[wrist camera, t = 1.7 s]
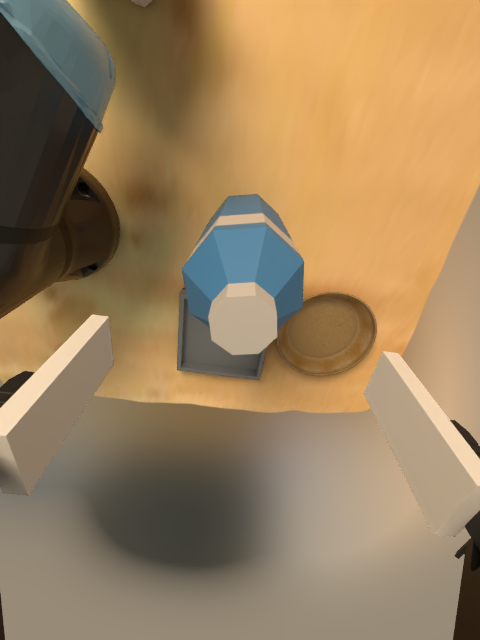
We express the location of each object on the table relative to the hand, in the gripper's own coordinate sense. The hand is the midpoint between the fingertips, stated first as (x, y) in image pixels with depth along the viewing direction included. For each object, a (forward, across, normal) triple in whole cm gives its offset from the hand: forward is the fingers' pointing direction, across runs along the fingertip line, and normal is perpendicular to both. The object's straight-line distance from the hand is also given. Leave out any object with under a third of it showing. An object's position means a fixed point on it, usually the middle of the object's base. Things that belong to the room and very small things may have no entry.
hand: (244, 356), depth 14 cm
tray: (+28, -1, -16) cm, 32 cm away
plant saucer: (+28, +14, -13) cm, 34 cm away
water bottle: (+28, 0, 0) cm, 28 cm away
